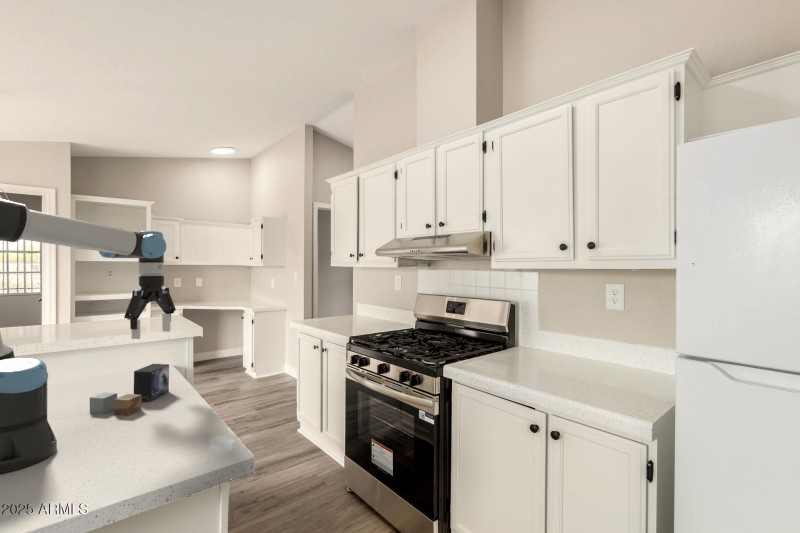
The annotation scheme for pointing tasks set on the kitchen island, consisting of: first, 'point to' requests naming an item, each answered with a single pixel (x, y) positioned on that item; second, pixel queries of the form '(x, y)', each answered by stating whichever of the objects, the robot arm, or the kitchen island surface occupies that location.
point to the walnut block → (127, 404)
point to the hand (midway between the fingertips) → (152, 335)
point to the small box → (151, 381)
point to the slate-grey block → (102, 403)
